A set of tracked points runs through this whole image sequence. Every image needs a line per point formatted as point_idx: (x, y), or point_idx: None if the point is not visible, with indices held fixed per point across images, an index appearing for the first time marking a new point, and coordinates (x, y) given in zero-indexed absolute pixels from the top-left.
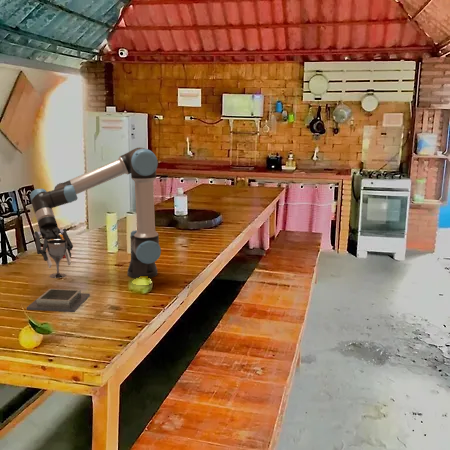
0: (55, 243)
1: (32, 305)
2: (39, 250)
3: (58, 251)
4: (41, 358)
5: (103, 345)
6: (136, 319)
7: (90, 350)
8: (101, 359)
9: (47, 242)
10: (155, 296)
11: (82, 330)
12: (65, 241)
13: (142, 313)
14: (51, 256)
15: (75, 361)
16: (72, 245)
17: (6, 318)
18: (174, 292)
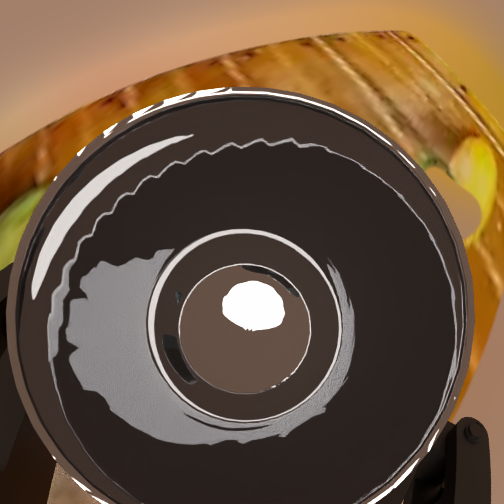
0: (132, 464)
1: None
2: (476, 425)
3: (311, 196)
4: (475, 102)
5: (367, 54)
6: (221, 76)
7: (396, 60)
8: (395, 39)
9: (359, 493)
10: (59, 151)
11: (363, 113)
12: (40, 244)
13: (180, 89)
14: (343, 325)
15: (431, 60)
16: (12, 266)
17: (478, 352)
18: (26, 145)
